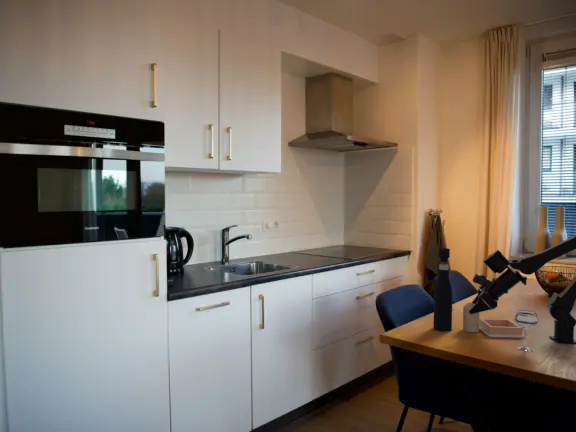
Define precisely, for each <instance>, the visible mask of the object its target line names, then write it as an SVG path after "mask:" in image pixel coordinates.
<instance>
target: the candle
mask: <svg viewBox="0 0 576 432" xmlns="http://www.w3.org/2000/svg"><path fill="white" fill-rule="evenodd" d="M474 305H475V304H474V303H472V302H467V303H466V304H465V305H463V307H462V308H463V309H462V311H463V312H462V330H463V331H464V332H467V333H479V332H480V329H479V319H480V312H478V313H474V314H470V313H469V311H470V310H471V308H472V307H473V306H474Z"/></svg>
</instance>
